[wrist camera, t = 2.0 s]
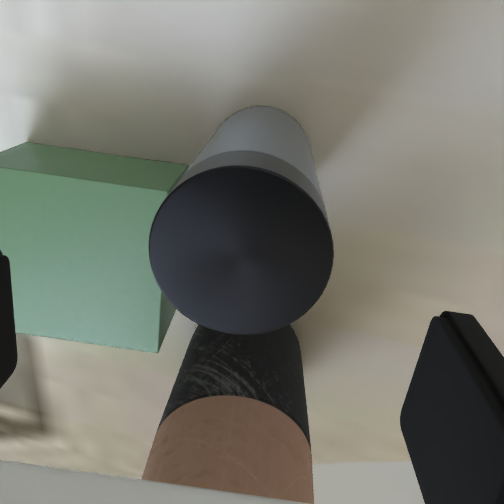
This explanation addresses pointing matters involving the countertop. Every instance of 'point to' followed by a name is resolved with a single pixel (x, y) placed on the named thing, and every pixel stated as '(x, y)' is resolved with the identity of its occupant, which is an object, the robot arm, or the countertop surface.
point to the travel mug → (237, 418)
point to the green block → (84, 244)
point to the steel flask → (245, 228)
